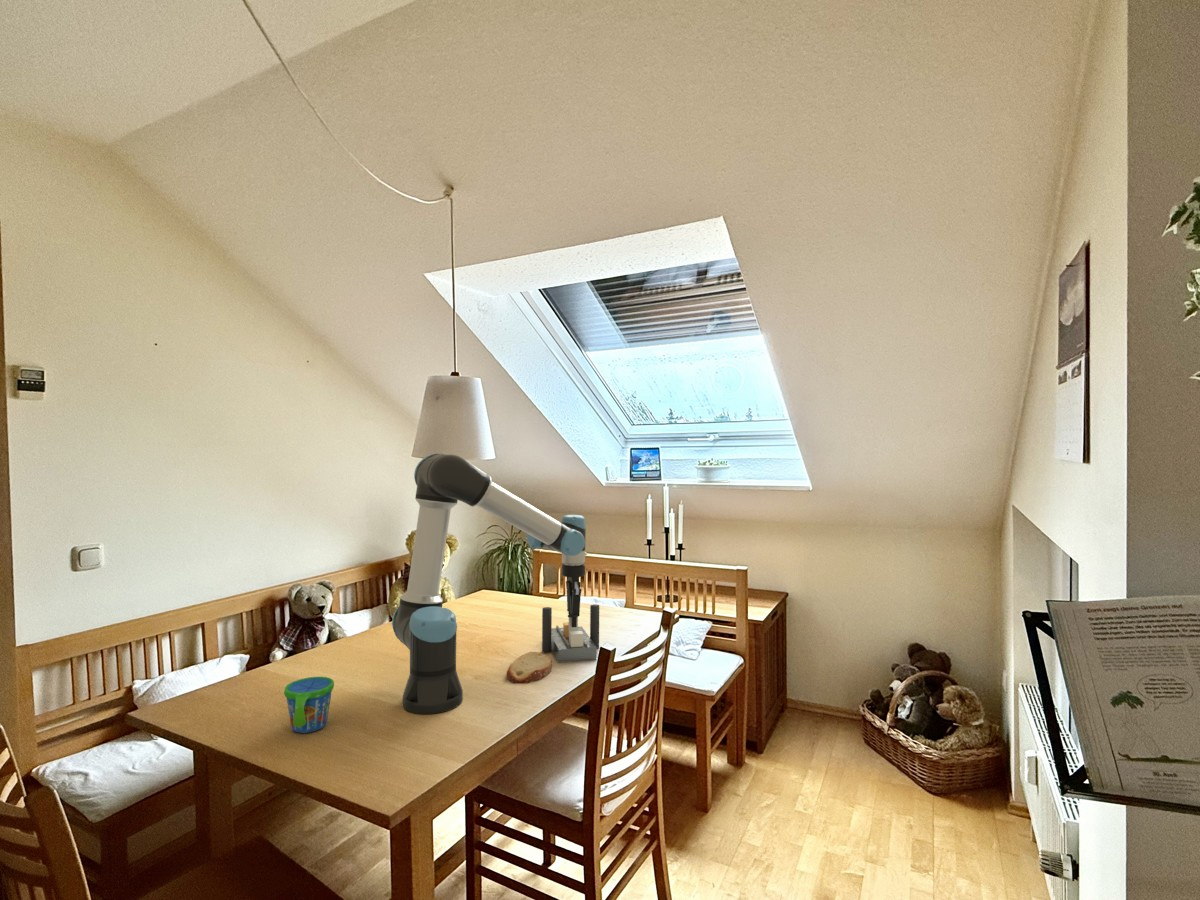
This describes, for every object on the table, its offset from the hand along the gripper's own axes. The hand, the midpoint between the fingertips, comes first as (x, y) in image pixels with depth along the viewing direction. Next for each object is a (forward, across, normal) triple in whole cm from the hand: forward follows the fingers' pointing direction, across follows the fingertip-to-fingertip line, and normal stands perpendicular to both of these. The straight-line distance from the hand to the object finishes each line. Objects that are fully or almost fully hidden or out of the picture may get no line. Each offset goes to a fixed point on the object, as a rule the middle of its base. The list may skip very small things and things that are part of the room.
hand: (573, 636), depth 197 cm
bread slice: (+6, -11, +16) cm, 20 cm away
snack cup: (+6, -37, +71) cm, 80 cm away
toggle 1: (+1, +5, 0) cm, 5 cm away
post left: (+5, +3, +8) cm, 10 cm away
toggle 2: (+1, -5, 0) cm, 5 cm away
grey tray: (+5, +3, 0) cm, 6 cm away
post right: (+5, +3, -8) cm, 10 cm away
